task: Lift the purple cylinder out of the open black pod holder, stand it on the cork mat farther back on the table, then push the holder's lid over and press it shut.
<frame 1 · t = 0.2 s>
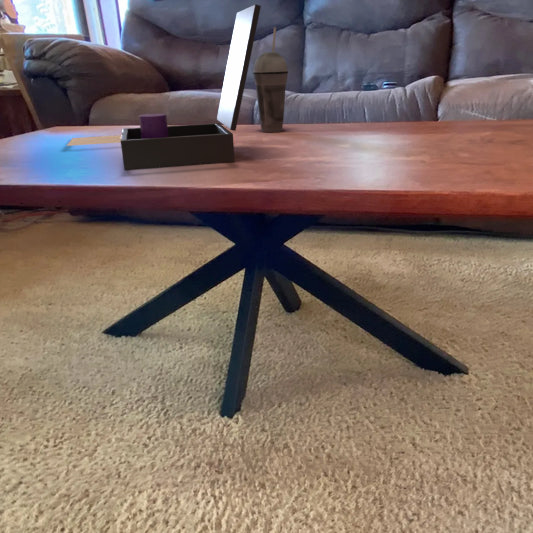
pod holder: (177, 162, 79), on the table
beverage cup: (271, 131, 109), on the table
cork mat: (106, 142, 100), on the table
purple cylinder: (157, 158, 78), point 1 cm above the table, touching pod holder
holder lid: (236, 69, 76), point 13 cm above the table, hinge at 105.0°
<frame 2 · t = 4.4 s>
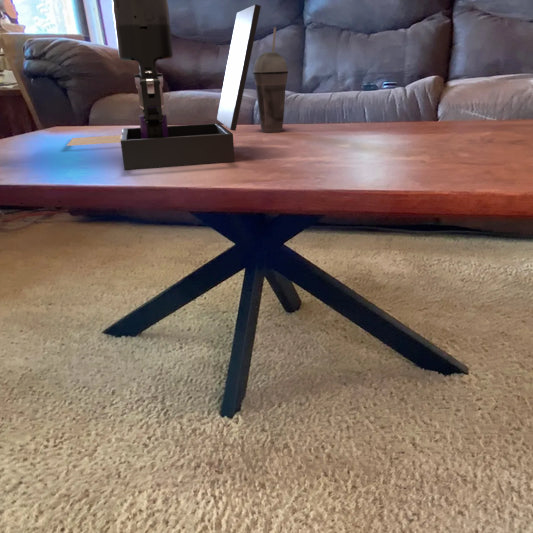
hand: (156, 147, 77), 3 cm above the table, tool pointing down, fingers closed on purple cylinder, 4 cm apart
purple cylinder: (157, 158, 78), point 1 cm above the table, touching gripper, pod holder
everything else where it was.
when the fingers open (2 cm above the table, at t = 12.6 s): purple cylinder stays where it is, resting on cork mat.
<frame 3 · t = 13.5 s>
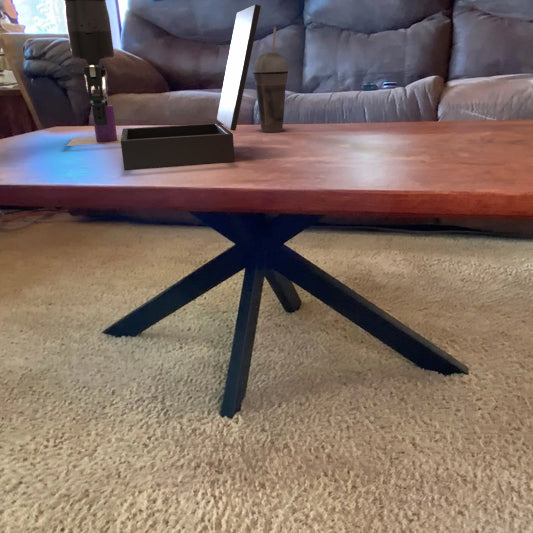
hand: (102, 122, 99), 4 cm above the table, tool pointing down, fingers open, 8 cm apart
purple cylinder: (107, 140, 100), resting on cork mat
everything else where it was.
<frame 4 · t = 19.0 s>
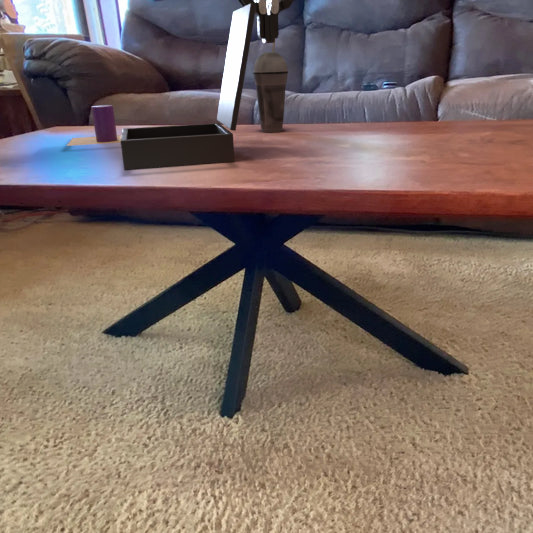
hand: (268, 42, 76), 17 cm above the table, tool pointing down, fingers closed
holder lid: (234, 68, 76), point 13 cm above the table, hinge at 102.9°, touching gripper, hand
everything else where it was.
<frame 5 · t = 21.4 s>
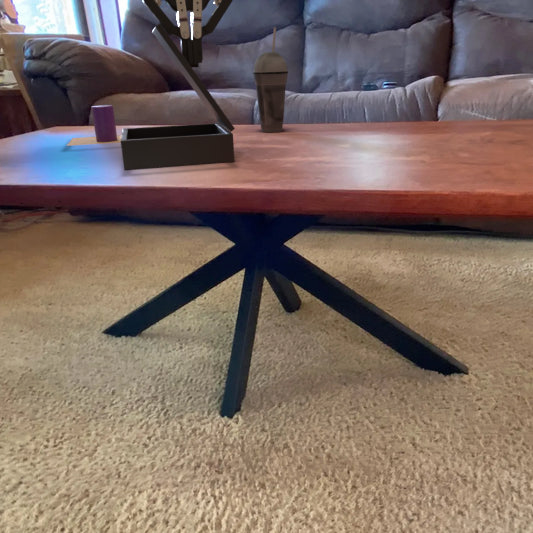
hand: (192, 67, 75), 14 cm above the table, tool pointing down, fingers closed
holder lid: (192, 78, 75), point 12 cm above the table, hinge at 56.6°
everything else where it was.
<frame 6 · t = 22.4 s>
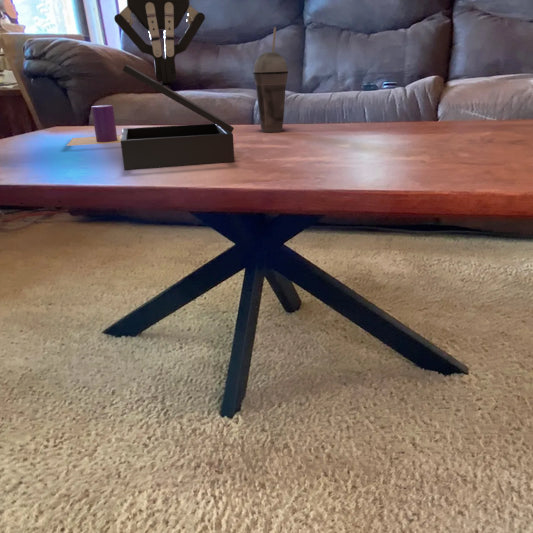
hand: (166, 84, 75), 11 cm above the table, tool pointing down, fingers closed
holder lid: (177, 97, 76), point 10 cm above the table, hinge at 32.1°, touching gripper
everything else where it was.
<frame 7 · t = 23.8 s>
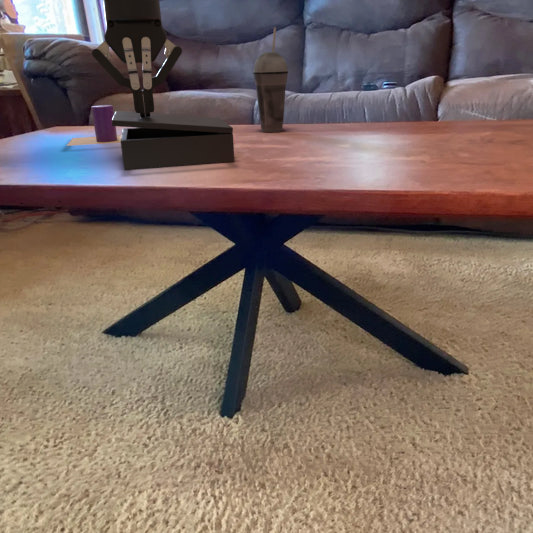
hand: (145, 116, 76), 7 cm above the table, tool pointing down, fingers closed
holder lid: (171, 121, 77), point 6 cm above the table, hinge at 6.8°
everything else where it was.
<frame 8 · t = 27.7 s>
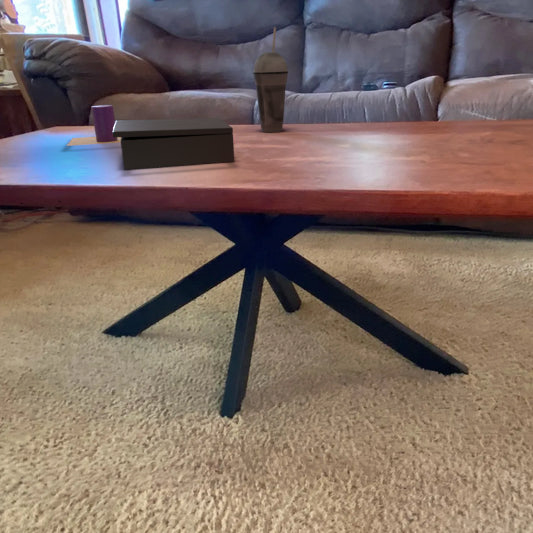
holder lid: (171, 126, 77), point 5 cm above the table, hinge at 1.5°
everything else where it was.
at the end: purple cylinder inside the target area on the cork mat (0.2 cm from its centre), point 0.4 cm above the cork mat's base; purple cylinder tilted 0°; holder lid at +2° (first picture: +105°) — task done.
